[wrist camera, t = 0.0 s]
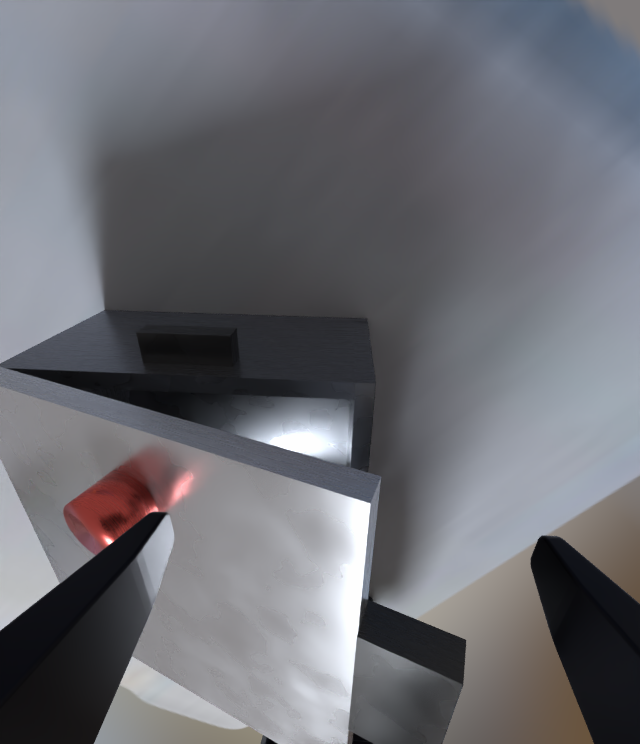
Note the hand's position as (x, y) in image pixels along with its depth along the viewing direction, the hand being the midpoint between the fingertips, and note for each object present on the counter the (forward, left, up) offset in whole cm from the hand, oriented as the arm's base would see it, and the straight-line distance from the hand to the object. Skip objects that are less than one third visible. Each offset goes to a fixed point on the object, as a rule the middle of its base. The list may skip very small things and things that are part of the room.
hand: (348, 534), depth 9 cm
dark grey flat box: (-7, +7, -15) cm, 18 cm away
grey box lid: (-7, +6, -3) cm, 10 cm away
